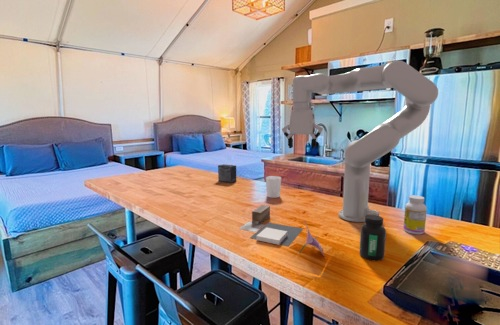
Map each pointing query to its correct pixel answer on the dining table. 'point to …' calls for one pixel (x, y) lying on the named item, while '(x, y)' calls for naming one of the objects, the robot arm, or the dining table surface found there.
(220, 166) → the small box
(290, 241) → the mat
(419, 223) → the supplement bottle
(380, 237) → the supplement bottle
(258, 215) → the brown and grey block
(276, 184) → the white cup
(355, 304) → the dining table surface
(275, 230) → the tile
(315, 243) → the lily
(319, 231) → the dining table surface
